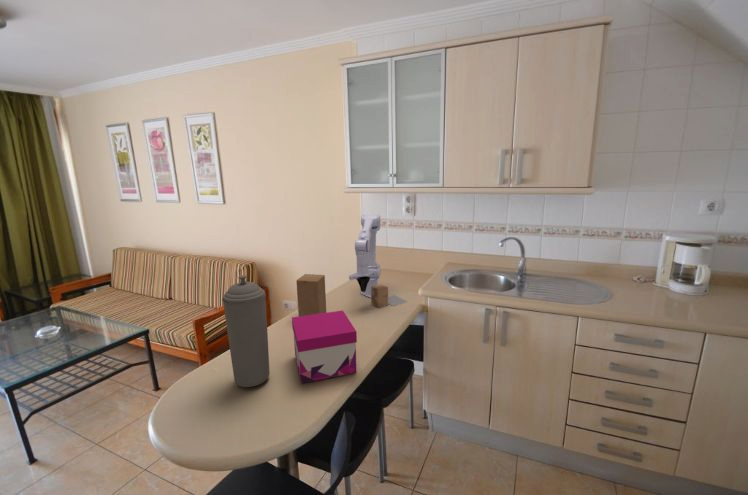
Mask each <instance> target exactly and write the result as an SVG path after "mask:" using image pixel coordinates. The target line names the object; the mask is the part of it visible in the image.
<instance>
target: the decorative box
mask: <svg viewBox="0 0 748 495" xmlns="http://www.w3.org/2000/svg"><path fill="white" fill-rule="evenodd" d="M291 325H292V326H291V327H292V331H293V344H294V356H295V361H296V365H297V366H296V367H297V370H298V371H297V372H298V374H299V375H298V376H299V380H300V384H305V383H309V382H315V381H320V380H324V379H325V380H326V379H329V378H334V377H339V376H344V375H345V376H346V375H350V374H354V373H357V344H356V343H357V341H358V337H357V330H356V328H355V326H354V325H353V324H352V322H351V321H350V319H349V318H348V315H347V314H346V312H345V311H344V310H336V311H330V312H326V313H320V314H313V315H306V316H299V315H298V316H293V317H291Z"/></svg>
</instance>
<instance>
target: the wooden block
mask: <svg viewBox="0 0 748 495" xmlns="http://www.w3.org/2000/svg"><path fill="white" fill-rule="evenodd" d="M325 278H326V276H325V274H315V273H314V274H311V273H309V274H308V273H305V274H303V275H302V276H300V277H299V278H297V279H296V295H297V298H296V299H297V311H298V317H299V316H306V315H313V314H320V313H327V298H326V279H325Z"/></svg>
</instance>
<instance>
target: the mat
mask: <svg viewBox="0 0 748 495" xmlns="http://www.w3.org/2000/svg"><path fill="white" fill-rule="evenodd" d="M405 303H408V301H407V300H406V299H403V298H402V297H399V296H397V295H395V294H393V295H390V296H389V295H388V305H389V306H391V307H396V306H399V305H401V304H405Z"/></svg>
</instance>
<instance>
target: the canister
mask: <svg viewBox="0 0 748 495" xmlns="http://www.w3.org/2000/svg"><path fill="white" fill-rule="evenodd" d="M237 277H238V279H240V282H237V283H234V284H232V285H230V287H229V288H228V290H226V291H225V293H224V294H223V297H222V299H221V300H222V302H223V310H224V316H225V318H224V319H225V323H226V332H227V338H228V345H229V351H230V359H231V360H230V361H231V365H232V372H233V380H234V384H235V385H236V386H239V387H242V388H252V387H255V386H258V385H261V384H263V383H264V382H265V381H267V379H268V378H270V356H269V339H268V338H269V336H268V320H267V318H268V317H267V302H266V295H267V294H266V292H265V290H264V289H263V288H262V287H261V286H260V285H258V284H257V283H256V282H253V281H246V278H247V277H248V276H247V275H246V274H244V275H243V274H242V275H239V276H237Z"/></svg>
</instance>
